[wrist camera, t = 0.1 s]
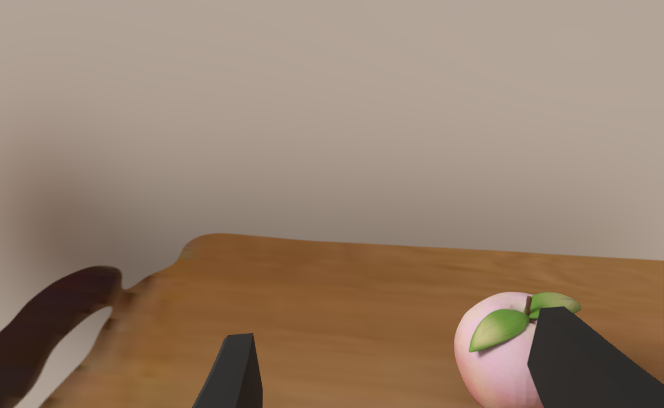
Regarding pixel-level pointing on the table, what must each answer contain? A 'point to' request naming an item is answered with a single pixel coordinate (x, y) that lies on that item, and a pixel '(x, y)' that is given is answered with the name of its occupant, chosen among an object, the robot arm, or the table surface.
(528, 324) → the decorative fruit
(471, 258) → the table surface
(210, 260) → the table surface
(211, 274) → the table surface
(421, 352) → the table surface
